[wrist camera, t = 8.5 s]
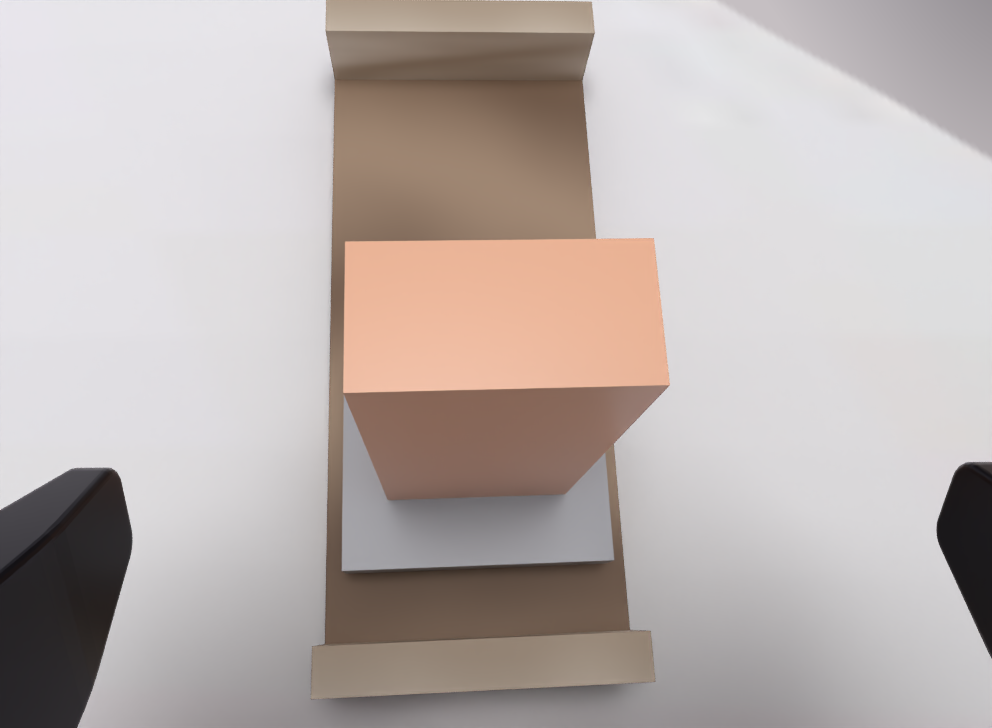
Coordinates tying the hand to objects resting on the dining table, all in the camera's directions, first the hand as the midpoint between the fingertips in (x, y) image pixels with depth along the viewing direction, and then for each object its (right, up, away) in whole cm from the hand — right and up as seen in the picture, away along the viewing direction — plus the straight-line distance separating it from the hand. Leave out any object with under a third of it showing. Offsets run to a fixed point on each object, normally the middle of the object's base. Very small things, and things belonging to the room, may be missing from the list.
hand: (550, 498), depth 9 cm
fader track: (-1, +2, +13) cm, 14 cm away
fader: (-1, -1, +11) cm, 11 cm away
